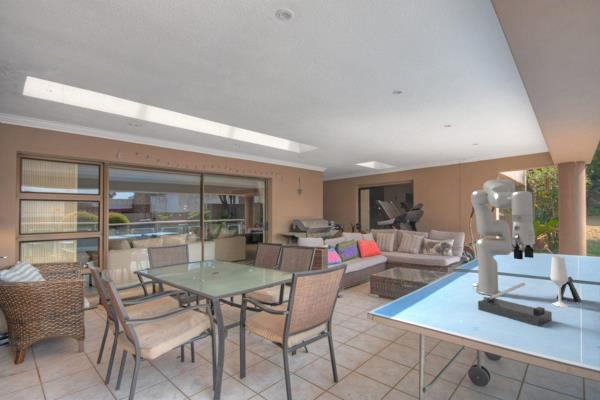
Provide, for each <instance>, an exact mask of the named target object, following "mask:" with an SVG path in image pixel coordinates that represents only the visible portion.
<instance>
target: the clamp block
mask: <svg viewBox="0 0 600 400" xmlns="http://www.w3.org/2000/svg"><path fill="white" fill-rule="evenodd" d="M491 296H493V295H489V297H491ZM489 297H487V296H484V297H483V299H481V300H478V301H477V309H478V311H483V312H485V313H490V314H493V315H497V316H500V317H504V318H506V319H511V320H514V321H518V322H521V323H525V324H527V325H532V326H535V327H537V328H538V327H540V326H543V325H547V324H548V322H549V323H551V322H553V317H552V311H550V310H546V309H545V307H541V306H538V307H533V306H528V305H524V304H521V303H520V304H519V303H516V302H512V301H507V300H503V299H500V298H494V299H492V300H488V298H489ZM550 321H551V322H550Z"/></svg>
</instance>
